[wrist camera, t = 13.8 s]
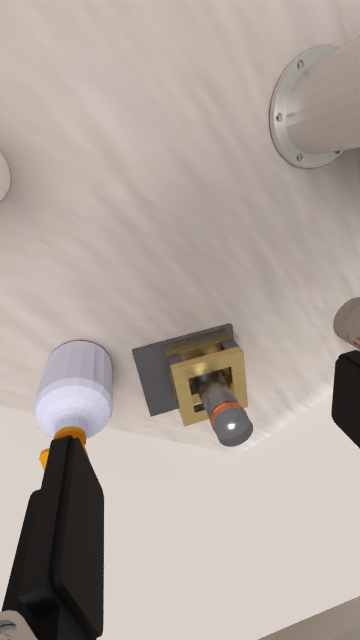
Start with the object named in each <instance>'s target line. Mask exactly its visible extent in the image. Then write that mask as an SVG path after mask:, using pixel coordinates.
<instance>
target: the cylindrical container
mask: <svg viewBox="0 0 360 640" xmlns="http://www.w3.org/2000/svg"><path fill="white" fill-rule="evenodd" d="M10 184H11V175H10V169H9V166H8V163H7V161H6V160H5V158H4V156H3V155H2V153H1V152H0V201H1V200H2V199H3V198H4V197H5V196H6V194H7V192H8V191H9V187H10Z"/></svg>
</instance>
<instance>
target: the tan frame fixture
mask: <svg viewBox="0 0 360 640" xmlns="http://www.w3.org/2000/svg"><path fill="white" fill-rule="evenodd" d="M132 352H133V356H134V359H135V363H136V366H137V370H138V373H139V377H140V380H141V384H142V387H143V391H144V394H145V398H146V401H147V405H148V408H149V412H150V415H151V416H155V415H158V414H161V413H165V412H168V411H171V410H175V409H179V412H180V415H181V418H182V421H183V424H184V426H187V425H191V424H194V423H197V422H200V421H204V420H207V419H209V417H208V415H207V412H206V410H205V408H204V406H203V403H202V404H199V405H195V406H193V404H197V403H200V402H202V401H201V399H200V397H199V394H198V392H197V390H196V388H195V386H194V383H193V381H192V379H191V378H193V377H196V376H200V375H203V374H206V373H210V372H213V371H217V370H219V371H220V373H221V374H222V376H223V378H224V379H225V381H226V383H227V384H228V386H229V387H230V389H231V391H232V392H233V394H234V395H235V397H236V399H237V400H238V402H239V403H240V404H241V405H242V407H243V408H246V407H248V402H247V390H246V379H245V367H244V356H243V350H242V349H241V348H240V347H239V346H238V345H237V343H236V342H235V341H234V337H233V327H232V325H231V324H226V325H222V326H218V327H215V328H211V329H207V330H203V331H200V332H196V333H192V334H188V335H185V336H181V337H177V338H173V339H170V340H166V341H162V342H158V343H155V344H151V345H147V346H143V347H139V348H136V349H132Z"/></svg>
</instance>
